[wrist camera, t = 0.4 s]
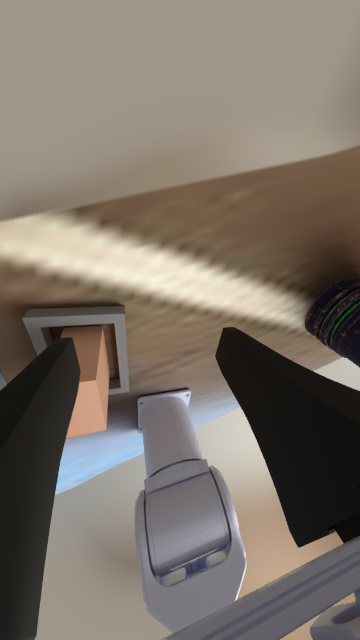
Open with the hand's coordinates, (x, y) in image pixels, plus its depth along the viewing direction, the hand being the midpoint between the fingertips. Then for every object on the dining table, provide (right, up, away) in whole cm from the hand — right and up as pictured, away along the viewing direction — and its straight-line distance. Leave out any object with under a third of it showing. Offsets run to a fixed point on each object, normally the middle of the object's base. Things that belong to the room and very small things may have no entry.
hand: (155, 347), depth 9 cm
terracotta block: (-9, -2, +11) cm, 14 cm away
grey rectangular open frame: (-9, -2, +11) cm, 14 cm away
